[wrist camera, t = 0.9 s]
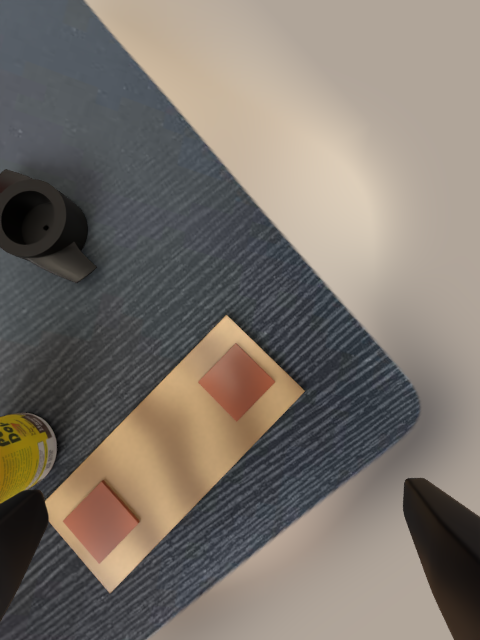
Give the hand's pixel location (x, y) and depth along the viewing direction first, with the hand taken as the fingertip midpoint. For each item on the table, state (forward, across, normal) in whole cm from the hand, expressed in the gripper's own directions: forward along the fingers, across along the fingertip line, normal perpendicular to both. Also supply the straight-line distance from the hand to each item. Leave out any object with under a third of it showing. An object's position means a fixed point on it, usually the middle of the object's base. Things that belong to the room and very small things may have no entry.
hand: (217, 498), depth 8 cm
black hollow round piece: (+20, +15, -8) cm, 27 cm away
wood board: (+14, +6, +9) cm, 18 cm away
